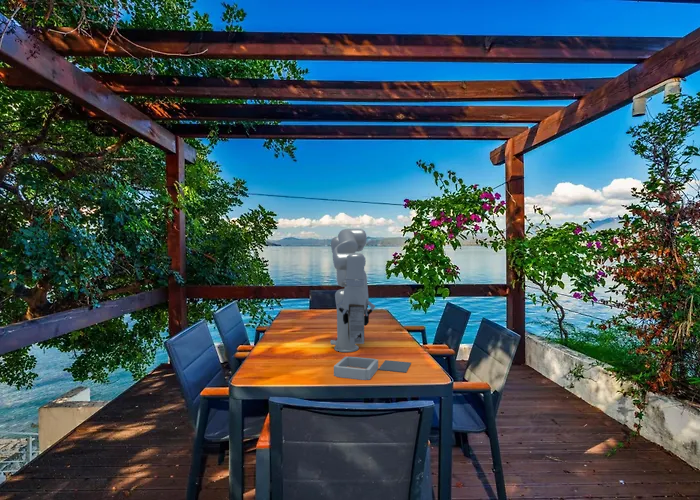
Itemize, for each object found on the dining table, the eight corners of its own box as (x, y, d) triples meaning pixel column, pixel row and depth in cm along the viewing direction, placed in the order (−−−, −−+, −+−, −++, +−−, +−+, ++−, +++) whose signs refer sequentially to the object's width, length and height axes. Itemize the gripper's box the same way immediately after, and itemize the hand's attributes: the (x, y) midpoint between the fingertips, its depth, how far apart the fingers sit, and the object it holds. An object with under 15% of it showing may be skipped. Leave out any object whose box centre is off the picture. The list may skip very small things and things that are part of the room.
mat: (378, 370, 150) (378, 369, 150) (385, 361, 163) (385, 360, 163) (406, 372, 146) (406, 371, 146) (411, 363, 159) (411, 362, 159)
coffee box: (347, 338, 153) (347, 301, 153) (362, 337, 153) (361, 301, 153) (349, 344, 144) (348, 305, 143) (364, 343, 144) (364, 304, 144)
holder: (333, 376, 143) (333, 366, 143) (345, 365, 157) (345, 356, 157) (369, 380, 138) (368, 370, 138) (378, 368, 152) (378, 359, 152)
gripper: (333, 283, 147) (333, 324, 148) (373, 284, 142) (373, 327, 142) (339, 281, 155) (339, 321, 155) (377, 282, 149) (377, 323, 149)
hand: (355, 324), depth 148 cm, fingers closed on coffee box, 8 cm apart
